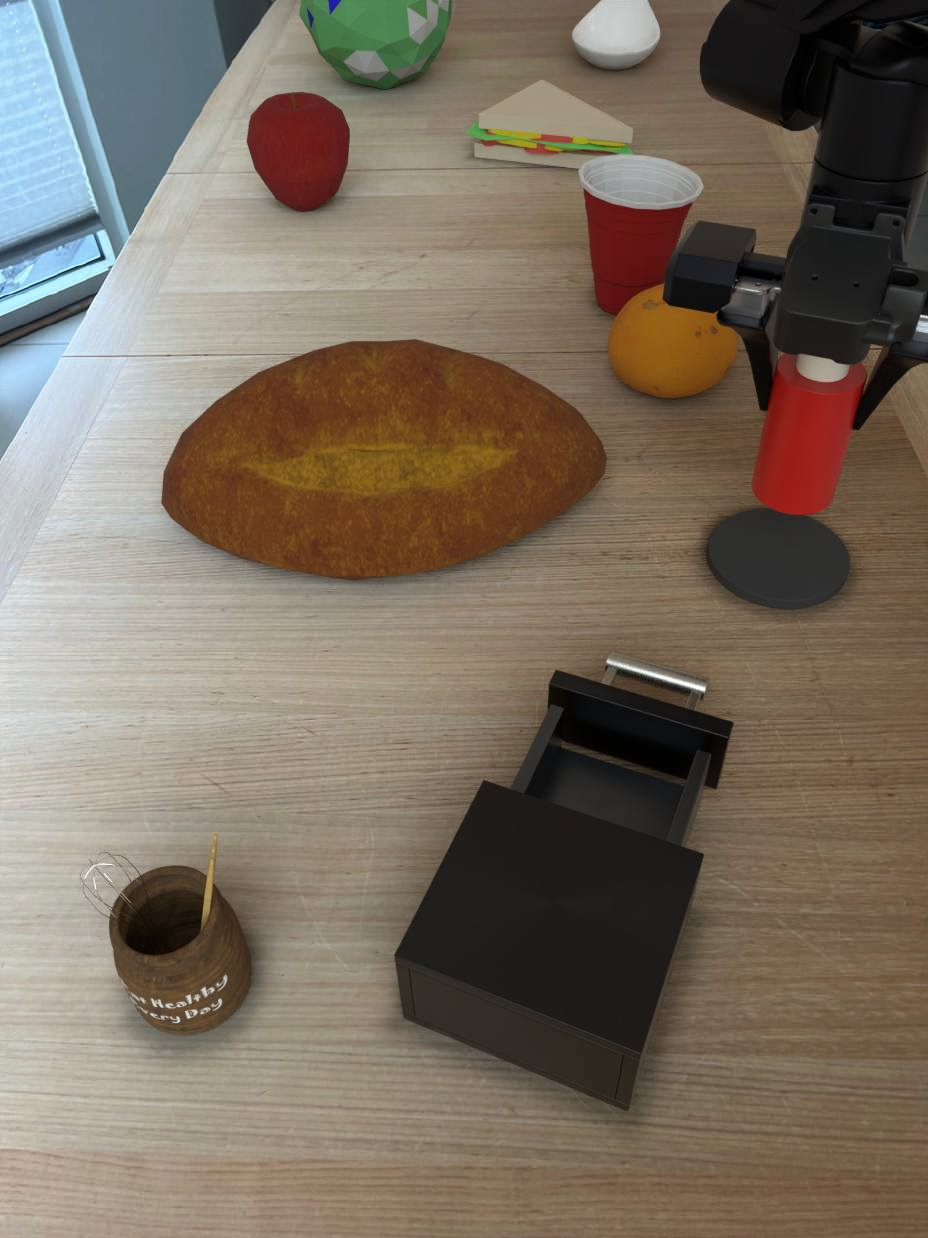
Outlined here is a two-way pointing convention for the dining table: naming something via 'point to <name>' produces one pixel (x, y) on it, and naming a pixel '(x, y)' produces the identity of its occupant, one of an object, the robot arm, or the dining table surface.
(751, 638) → the dining table surface
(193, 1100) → the dining table surface
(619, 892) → the cabinet
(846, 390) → the ketchup bottle
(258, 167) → the apple
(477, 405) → the bread
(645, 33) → the spoon rest
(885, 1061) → the dining table surface
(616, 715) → the drawer
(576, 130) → the sandwich
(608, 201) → the plastic cup
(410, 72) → the decorative sphere
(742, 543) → the disc
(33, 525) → the dining table surface
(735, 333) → the fruit
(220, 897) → the utensil holder
